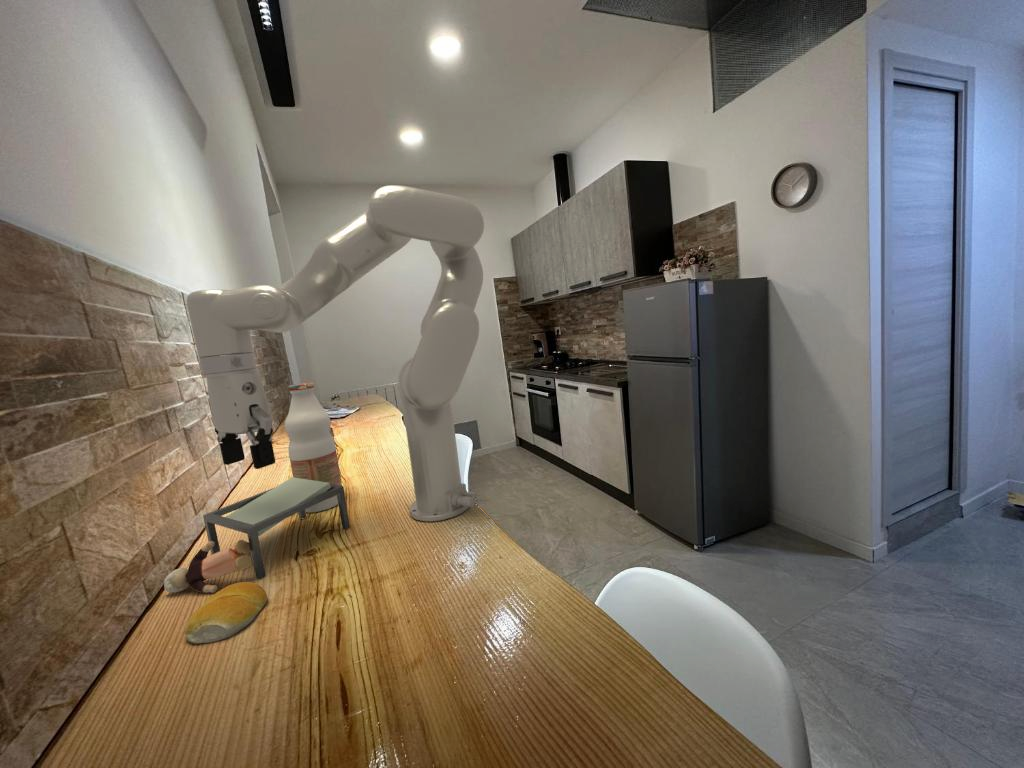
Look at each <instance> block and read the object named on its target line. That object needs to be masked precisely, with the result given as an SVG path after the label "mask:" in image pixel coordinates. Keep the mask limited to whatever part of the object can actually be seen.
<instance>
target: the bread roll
mask: <svg viewBox="0 0 1024 768" xmlns="http://www.w3.org/2000/svg"><path fill="white" fill-rule="evenodd" d="M267 601H268V594H267V591H266V590H265V589H264V588H263V587H262V585H260V584H258V583H255V582H252V581H242V582H241V581H239V582H235V583H232V584H230V585H227V586H226V587H224V588H222V589H220V590H219V591H216V592H215V594H213V595H211V596H210V597H208V598H207V599H206V600H205V601H204V602H203V603H202V604H201V605H200V607H199V608H198V609H197V610H196V611H195V612H194V613H193V614H192V615H191V616H190V617H189V618H188V620H187V622H186V624H185V627H184V636H185V637H184V638H185V639H186V640H187V641H188V642H190V643H192V644H197V645H199V644H200V645H201V644H208V643H214V642H218V641H222V640H224V639H227V638H229V637H232V636H234V635H236V634H237V633H238V632H240V631H241V630H242V629H244V628H246V627H248V626H249V624H250V623H251V622H253V620H254V619H255V618H256V616H257V615H259V612H260V611H262V609H263V608H264V606H265V605H266V602H267Z"/></svg>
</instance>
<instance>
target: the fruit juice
mask: <svg viewBox="0 0 1024 768" xmlns="http://www.w3.org/2000/svg"><path fill="white" fill-rule="evenodd" d="M288 390H289V393H290V395H291V399H290V405H289V409H288V414H287V416H286V418H285V421H284V431H285V433H286V435H287V437H288V438H289V443H288V449H287V450H288V458H289V461H290V462H289V464H290V468H291V472H292V473H291V474H292V477H294V478H301V479H307V480H314V481H320V482H327V483H330V484H333V485H340V486H343V484H342V483H343V482H342V477H341V471H340V464H339V460H338V453H337V446H336V442H335V438H334V437H333V435H332V433H331V423H332V421H331V418H330V415H329V413H328V412H327V410H325V409H324V408H323V406H322V404H321V402H320V401H319V399H318V397H317V396H316V394H315V392H314V391H315V384H314V382H304V383H303V382H302V383H296V384H291V385H288ZM336 506H339V505H338V499H337V495H335V496H332V497H330V498H328V499H326V500H324V501H322V502H320V503H318V504H315V505H313V506H311V507H309V508H307V509H305V512H308V513H307V514H310V513H309V512H313V513H319V512H322V510H323V511H327V510H329V509H332V508H334V507H336ZM331 507H332V508H331ZM326 509H327V510H326ZM318 511H319V512H318Z"/></svg>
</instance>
